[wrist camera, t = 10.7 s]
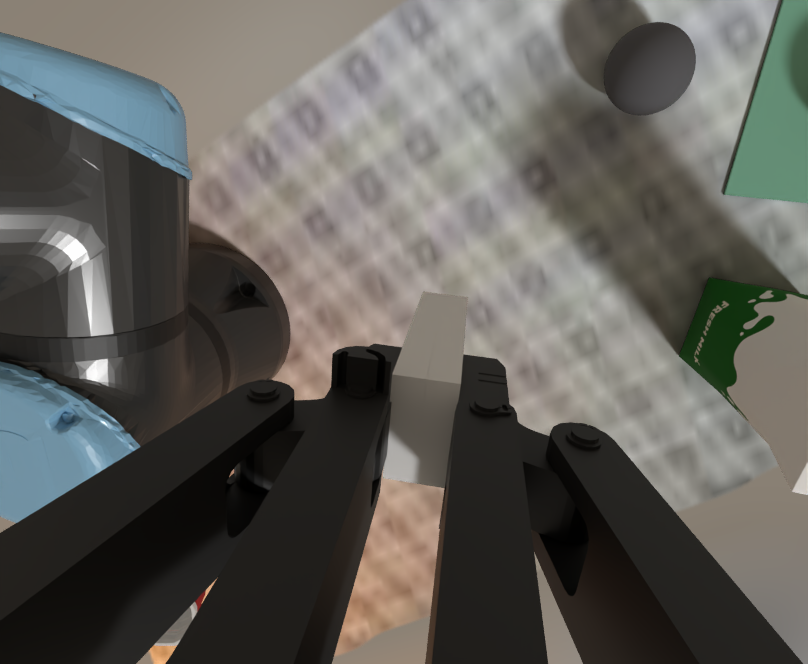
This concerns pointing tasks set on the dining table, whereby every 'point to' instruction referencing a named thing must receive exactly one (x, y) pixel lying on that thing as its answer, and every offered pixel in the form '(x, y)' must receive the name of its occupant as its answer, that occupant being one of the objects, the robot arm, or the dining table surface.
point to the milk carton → (758, 364)
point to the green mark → (777, 117)
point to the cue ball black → (649, 68)
